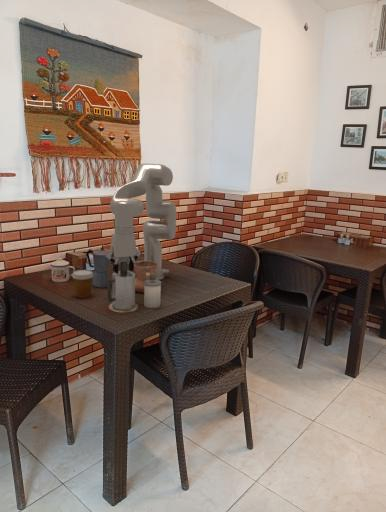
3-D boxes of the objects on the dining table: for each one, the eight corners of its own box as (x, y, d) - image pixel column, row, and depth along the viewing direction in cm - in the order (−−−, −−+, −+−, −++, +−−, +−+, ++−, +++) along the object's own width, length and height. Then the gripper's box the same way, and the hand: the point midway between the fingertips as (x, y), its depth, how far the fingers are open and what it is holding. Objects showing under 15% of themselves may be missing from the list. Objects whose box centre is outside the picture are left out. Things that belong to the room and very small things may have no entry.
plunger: (125, 298, 174) (125, 260, 170) (128, 301, 172) (128, 262, 168) (119, 300, 173) (119, 261, 168) (121, 302, 170) (121, 263, 166)
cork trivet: (130, 301, 182) (130, 299, 182) (143, 310, 172) (143, 309, 171) (103, 305, 175) (103, 304, 175) (115, 316, 165) (115, 314, 164)
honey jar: (82, 302, 178) (82, 276, 175) (68, 297, 183) (67, 272, 180) (98, 296, 186) (97, 272, 183) (83, 292, 191) (83, 268, 188)
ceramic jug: (162, 296, 190) (163, 267, 187) (132, 297, 187) (132, 268, 184) (156, 284, 207) (157, 258, 204) (128, 285, 204) (129, 258, 200)
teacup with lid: (50, 282, 202) (49, 260, 199) (53, 277, 210) (52, 256, 207) (74, 282, 204) (73, 260, 201) (76, 277, 212) (75, 256, 210)
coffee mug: (118, 264, 239) (118, 248, 236) (118, 260, 248) (118, 245, 246) (140, 264, 242) (140, 248, 239) (139, 260, 251) (139, 245, 249)
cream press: (155, 302, 182) (156, 270, 178) (163, 308, 176) (164, 274, 172) (140, 305, 178) (141, 272, 174) (148, 311, 171) (149, 276, 168)
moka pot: (110, 289, 196) (110, 250, 191) (81, 286, 199) (80, 247, 194) (118, 283, 205) (118, 246, 200) (90, 280, 208) (89, 243, 203)
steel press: (129, 301, 180) (129, 269, 176) (138, 308, 172) (139, 275, 168) (103, 305, 173) (103, 272, 169) (112, 313, 165) (112, 279, 162)
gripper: (138, 227, 172) (138, 267, 177) (100, 230, 163) (101, 271, 167) (146, 230, 166) (145, 271, 171) (107, 233, 157) (107, 276, 161)
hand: (123, 271), depth 169 cm, fingers open, 6 cm apart
